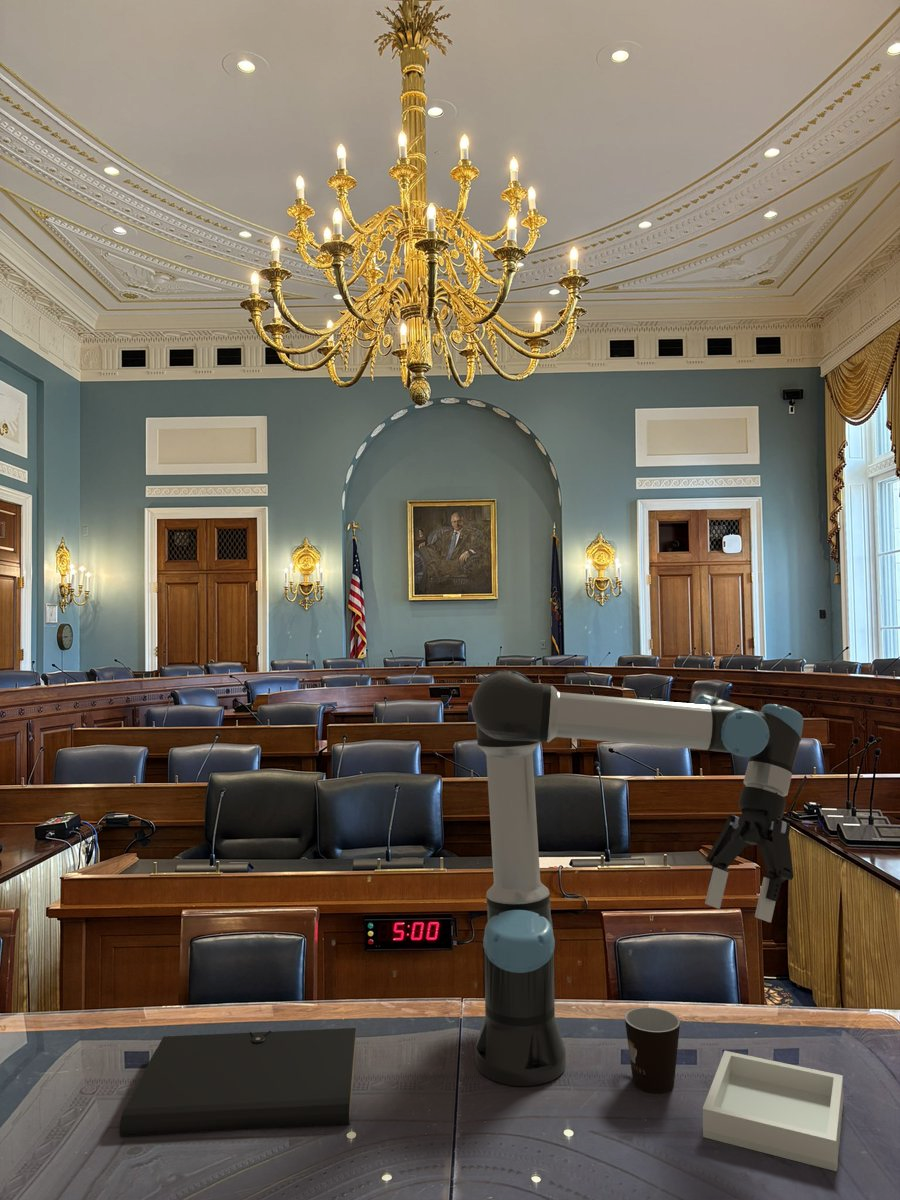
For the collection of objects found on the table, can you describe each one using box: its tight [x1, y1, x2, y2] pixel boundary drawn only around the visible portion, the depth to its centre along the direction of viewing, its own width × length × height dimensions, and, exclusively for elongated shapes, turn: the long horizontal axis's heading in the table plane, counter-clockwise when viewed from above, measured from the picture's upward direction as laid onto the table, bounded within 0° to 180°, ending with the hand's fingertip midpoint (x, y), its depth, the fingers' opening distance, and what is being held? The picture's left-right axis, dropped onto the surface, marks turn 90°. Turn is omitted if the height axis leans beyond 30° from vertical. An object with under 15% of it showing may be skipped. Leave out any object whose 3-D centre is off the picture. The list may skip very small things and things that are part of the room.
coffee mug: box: [624, 1006, 681, 1095], centre depth 138 cm, size 12×9×10 cm
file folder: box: [118, 1027, 357, 1137], centre depth 136 cm, size 33×4×24 cm
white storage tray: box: [702, 1050, 844, 1172], centre depth 126 cm, size 17×18×4 cm
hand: (736, 913), depth 145 cm, fingers open, 13 cm apart
